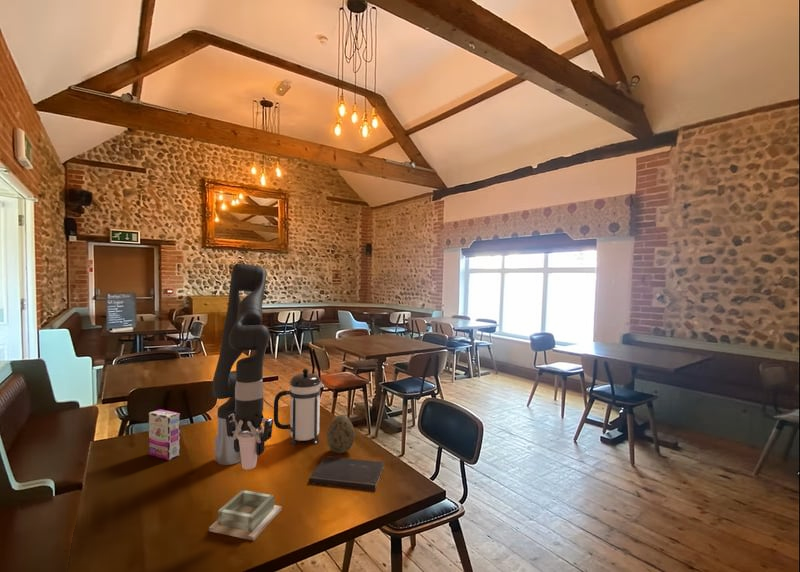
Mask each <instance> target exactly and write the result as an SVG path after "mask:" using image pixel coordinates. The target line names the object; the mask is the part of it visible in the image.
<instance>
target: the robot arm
mask: <svg viewBox="0 0 800 572" xmlns="http://www.w3.org/2000/svg"><path fill="white" fill-rule="evenodd" d="M266 282H267V271H266V269H265V268H264V267H262V266H260V265H255V264H254V265H253V264H246V263H239V262H237V263H235V264H234V265H233V267H232V270H231V275H230V284H229V290H228V291H229V292H228V293H229V294H228V301H227V309H226V314H225V320H224V324H223V329H222V336H221V344H220V350H219V356H218V359H217V364H216V368H215V372H214V374H213V378H212V386H211V388H212V393H213V396H214V398H216V399H218V400H224V399H228V398H229V399H228V400H227V401H226V402H224V403H223V404H221V405H219V407H218V409H217V414H216V416H217V417H216V419H217V425H216V426H217V434H216V435H215V437H214V462H217V464H219V465H222V466H232V465H235V464H238V463H240V462H241V454H240V446H239V440H238V439H237V435H238V434H239V433H241V432H242V431H249V432H252V434H253V436H256V437H255V438H256V440H257V452H256V454H257V456H261V455H262V454H263V453H264V452H265V446H266V445H265V442H268V440H270V439H271V438H272V433H273V426H274V425H273V424H274V418H272V417H270V418H267V417H264V415H263V412H264V382H263V381H264V380H263V376H264V375H263V373H264V371H263V366H264V359H265V354H266V351H267V347H268V344H269V341H270V338H271V337H270V331H269V328H268V327H267V326H266V325H263V324H262V323H263V302H264V297H265V291H266V289H265V288H266V284H267V283H266ZM240 291H241V292H250V293H249V294H247V295H246V296H245V297H243V299H241V297H240ZM245 351H255V352H254V353H253V354H252V355H250V356H247V357H243V358H240V357H241V355H242V354H243V353H244V352H245ZM239 358H240V359H239ZM238 359H239V360H238ZM236 361H237V362H236ZM235 363H236V364H235ZM234 364H235V365H236V366H235V370H233V371H232V368H233V366H234ZM256 429H258V431H256ZM259 433H260V435H259Z"/></svg>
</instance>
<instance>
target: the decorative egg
mask: <svg viewBox="0 0 800 572" xmlns="http://www.w3.org/2000/svg"><path fill="white" fill-rule="evenodd" d="M355 435H356V434H355V429H354V425H353V423H352V421H351V420H350V418H349V417H348V416H346V415H344V414H338V415H336V416H335V417H334V418H333V419H332V420H331V422H330V424H329V426H328V429H327V433H326V443H327V445H328V447H329V449H330V450H331V451H332V452H334V453H335V454H345V453H346V452H348V451H349V450H350V449H351V447H352V446H353V445H354V442H355Z"/></svg>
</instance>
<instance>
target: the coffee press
mask: <svg viewBox="0 0 800 572" xmlns="http://www.w3.org/2000/svg"><path fill="white" fill-rule="evenodd" d="M289 387H290V390H282V391H280V392H278V393H277V394H276V395H275V397H274V401H273V424H274V426H276V428H278V429H281V430H289V436H290V437H291V440H290V445H291V446H295V445H296V443H297V442H298V441H299V442H301V441H302V442H303V441H310V440H312V441H313V443H314V444H318V443H319V442H320V439H319V438H318V435H319V434H320V406H321V405H320V403H321V402H320V400H321V399H320V398H321V388H324V387H325V385H324V384H323V382H322V380H321V379H320V377H319V375H318V374H315V373H311V372H309V370H308V368H303V370H302V373H297V374H295V375H294V376H292V377H291V379H290V380H289ZM284 396H289V398H290V405H289V406H290V407H289V410H290V411H289V413H290V414H289V418H290V420H289V423H288V424H282V423H281V422H280V421H279V400H280V398H281V397H284Z"/></svg>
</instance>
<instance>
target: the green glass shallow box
mask: <svg viewBox="0 0 800 572" xmlns="http://www.w3.org/2000/svg"><path fill="white" fill-rule="evenodd" d="M282 509H283V507H282V506H281V505H277V504H275V495H274V494H267V493H263V492H257V491H252V490H251V491H250V490H246V489H245V490H244V489H242V490H240V491H239V492H238V493H237V494H236V495H234V496H233V497H232V498H231V499H230V500H229V501H228V502H226V503H225V504H224V505H223V506H222V507H221V508H219V509H218V510H217V519H216V520H215V522H213V523H212V524H211V525H209V527H208V532H212V533H216V534H222V535H226V536H231V537H235V538H239V539H244V540H249V541H255V540H256V539H257V538H258V537H259V536H260V534H262V533H263V531H264V530H265V529H266V528H267V527H268V525H270V524H271V522H272V521H273V520H274V518H276V517H277V516H278V514H279V513H280V512H281V511H282Z"/></svg>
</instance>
